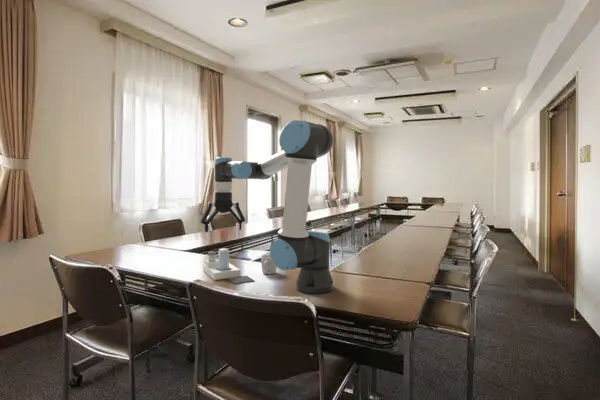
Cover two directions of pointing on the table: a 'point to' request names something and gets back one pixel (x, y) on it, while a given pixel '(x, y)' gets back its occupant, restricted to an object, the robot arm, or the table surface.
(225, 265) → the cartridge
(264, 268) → the cup
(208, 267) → the housing
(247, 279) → the pad
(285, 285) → the table surface
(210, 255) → the plunger
